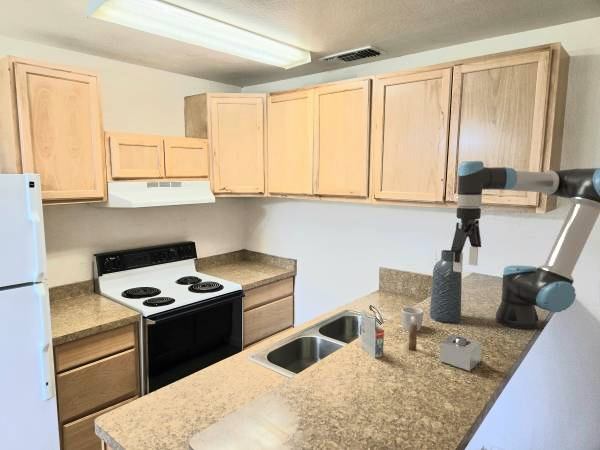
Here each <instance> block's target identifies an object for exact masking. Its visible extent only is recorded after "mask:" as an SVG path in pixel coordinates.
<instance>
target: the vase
mask: <svg viewBox="0 0 600 450" xmlns="http://www.w3.org/2000/svg"><path fill="white" fill-rule="evenodd" d="M440 255H441V257H440V259H439V260H438V261H437V262H436V263H435V264H434V267H433V271H432V280H431V281H432V282H431V291H430V293H431V294H430V302H429V303H430V304H429V306H430V307H429V317H430V318H431V319H433V320H435V321H437V322H440V323H446V324H447V323H451V324H452V323H453V324H454V323H458V322H460V321H461V319H462V290H463V289H462V288H463V287H462V285H463V283H462V282H463V281H462V280H463V278H462V277H463V276H462V272H456V271H453V263H454V252H451V249H448V250H447V249H445V250H444V249H443V250H441V254H440Z"/></svg>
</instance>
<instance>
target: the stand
mask: <svg viewBox="0 0 600 450" xmlns="http://www.w3.org/2000/svg"><path fill="white" fill-rule="evenodd" d="M408 332H409V333H408V343H397V346H398V347H399V349H400V352H401V353H402V354H403V356H429V354H428V352H427V351H426V349H425V348H424V346H422V344H421V343H417V339H418V337H417V336H418V331H417V324H413V323H412V324H410V327H409V330H408Z"/></svg>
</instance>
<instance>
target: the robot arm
mask: <svg viewBox="0 0 600 450" xmlns="http://www.w3.org/2000/svg"><path fill="white" fill-rule="evenodd" d="M458 167H459V168H458V174H457V181H458V182H457V196H456V197H455V198H456V200H457V203H456V205H457V208H456V218H457V219H459V220H460V222H459V221H458V222H456V225H455V232H454V235H453V241H452V244H451V249H450V250H451V252H454V263H453V271H456V272H461V273H462V272H463V262H464V261H463V259H464V252H463V250H464V247H465V244H466V241H467V238H468V239H469V240H468V241H469V244H470V246H469V253H468V254H469V255H468V265H469V266H475V267H477V266H478V259H479V256H478V255H479V248H481V247H482V240H481V232H480V226H479V225H480V219H481V218H482V217H481V213H482V210H481V208H480V207H481V206H482V198H483V197H482V196H483V195H482V194H483V190H497V191H514V192H516V191H517V192H532V193H541V194H543V195H544V196H553V197H559V198H563V199H564V198H565V199H569V202H570V203H571V207H570V208H569V211H568V213H567V215H566V217H565V219H564V221H563V224H562V226H561V228H560V230H559V232H558V235H557V236H556V239H555V241H554V243H553V246H552V247H551V249H550V252H549V253H548V256H547V259H546V261H545V262H544V264H543V265H540V266H538V267H536V266H532V265H507V266H505V267H504V269H503V274H502V285H501V287H502V288H501V302H500V304H499V306H498V308H497V310H496V312H495V320H496V322H497V323H499V324H501V325H503V326H507V327H509V328H513V329H514V328H515V329H521V330H534V329H537V328H538V327H539V323H540V322H539V321H540V320H539V316H538V312H537V308H536V307H538V308H539V309H542V310H544V311H548V312H552V313H561V312H562V311H566V310H567V309H569V308H570V307H571V306H572V305H573V303H574V302H575V300H576V297H577V293H576V288H575V287H574V286H573V283H574V281H575V279H574V277H573V271H574V269H575V267H576V265H577V264H578V261H579V259H580V256H581V254H582V252H583V250H584V249H585V248H584V247H585V245H586V244H587V241H588V239H589V237H590V235H591V233H592V230H593V228H594V227H595V224H596V222H597V220H598V219H599V216H600V167H594V168H593V167H592V168H590V167H589V168H570V169H562V170H561V169H560V170H551V169H549V170H546V171H545V172H538V171H523V170H516V169H514V168H512V167H506V166H503V167H501V166H500V167H495V166H494V167H492V166H490V167H485V166H484V162H483V161H482V160H481V161H479V160H474V161H473V160H469V161H467V160H466V161H461V162H460V163H459V166H458Z"/></svg>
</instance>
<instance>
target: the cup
mask: <svg viewBox="0 0 600 450" xmlns="http://www.w3.org/2000/svg"><path fill="white" fill-rule="evenodd" d="M423 316H424V310H423V309H421V308H419V307H416V306H403V307H402V308H401V319H402V320H401V322H402V328H403V330H406V331H409V327H410V324H412V323H413V324H417V332H418V331H420V330H421V329H422V324H423Z"/></svg>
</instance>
